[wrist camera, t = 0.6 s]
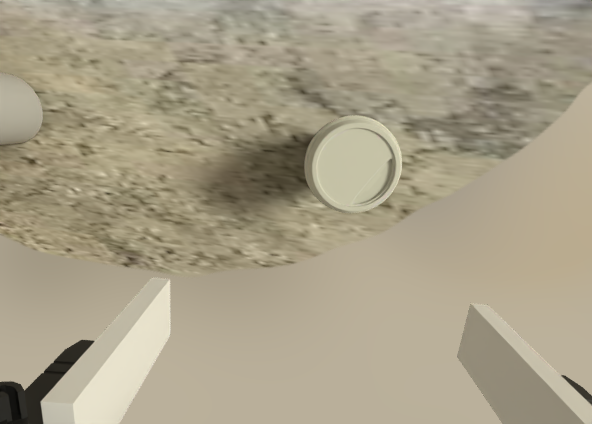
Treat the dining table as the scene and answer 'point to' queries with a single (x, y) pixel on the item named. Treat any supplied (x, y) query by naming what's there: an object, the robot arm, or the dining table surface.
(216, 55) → the dining table surface
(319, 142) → the coffee cup
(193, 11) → the dining table surface
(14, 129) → the can
